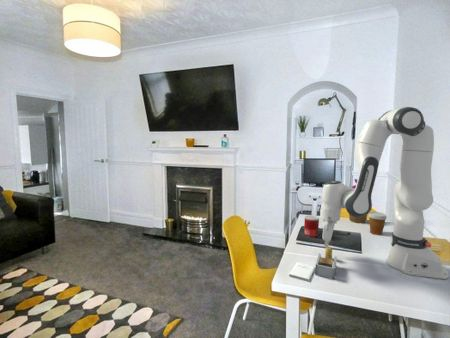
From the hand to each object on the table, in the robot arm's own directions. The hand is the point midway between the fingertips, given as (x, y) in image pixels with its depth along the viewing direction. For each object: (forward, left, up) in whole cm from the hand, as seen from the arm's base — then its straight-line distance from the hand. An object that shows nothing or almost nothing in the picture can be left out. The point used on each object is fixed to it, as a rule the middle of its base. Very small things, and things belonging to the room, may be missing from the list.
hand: (327, 242), depth 125 cm
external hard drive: (+8, +18, -9) cm, 22 cm away
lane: (-1, +12, -8) cm, 14 cm away
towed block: (-1, +7, -8) cm, 11 cm away
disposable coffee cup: (-24, -48, -8) cm, 54 cm away
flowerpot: (-14, -68, -8) cm, 70 cm away
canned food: (+11, -27, -8) cm, 31 cm away
